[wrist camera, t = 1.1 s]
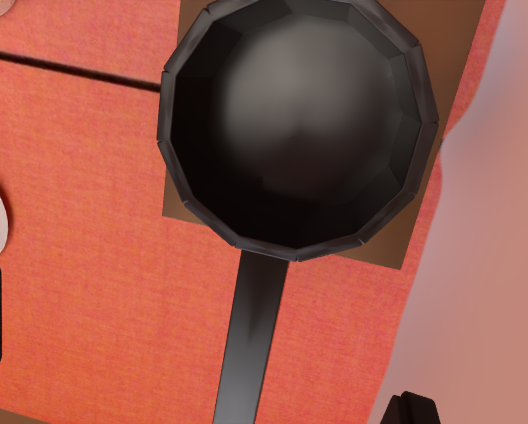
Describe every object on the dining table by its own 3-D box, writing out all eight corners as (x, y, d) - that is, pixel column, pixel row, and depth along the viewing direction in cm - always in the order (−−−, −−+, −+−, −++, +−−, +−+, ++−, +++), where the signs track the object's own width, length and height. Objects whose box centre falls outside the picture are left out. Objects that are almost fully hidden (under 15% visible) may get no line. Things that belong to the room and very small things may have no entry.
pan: (214, -14, 18) (170, -46, 14) (440, 23, 17) (478, 2, 12) (172, 345, 25) (133, 407, 20) (333, 389, 24) (332, 465, 19)
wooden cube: (423, 28, 30) (489, -12, 16) (377, 196, 34) (400, 270, 21) (250, 1, 31) (185, -57, 18) (227, 165, 35) (161, 216, 22)
